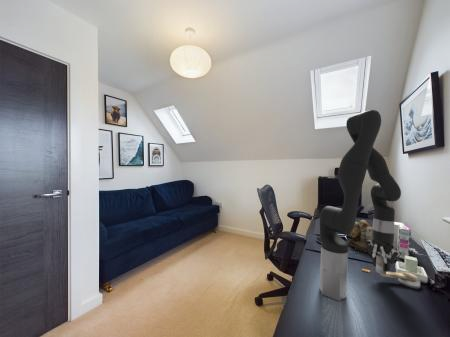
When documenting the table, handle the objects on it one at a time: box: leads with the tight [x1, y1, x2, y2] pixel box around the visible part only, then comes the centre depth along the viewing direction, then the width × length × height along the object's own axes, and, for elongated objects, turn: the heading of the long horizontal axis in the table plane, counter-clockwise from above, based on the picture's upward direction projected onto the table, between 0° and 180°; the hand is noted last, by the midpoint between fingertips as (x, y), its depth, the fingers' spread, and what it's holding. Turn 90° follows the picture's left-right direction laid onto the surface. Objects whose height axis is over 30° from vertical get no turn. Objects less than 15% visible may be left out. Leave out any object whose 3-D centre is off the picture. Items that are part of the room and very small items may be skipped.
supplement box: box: [393, 221, 406, 250], centre depth 125 cm, size 9×9×15 cm
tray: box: [394, 260, 429, 284], centre depth 92 cm, size 10×10×3 cm
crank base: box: [361, 268, 422, 289], centre depth 89 cm, size 20×7×2 cm, turn 53°
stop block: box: [403, 255, 419, 273], centre depth 92 cm, size 4×4×7 cm
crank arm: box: [375, 254, 417, 281], centre depth 86 cm, size 15×5×8 cm, turn 81°
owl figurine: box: [346, 219, 374, 253], centre depth 121 cm, size 18×12×17 cm, turn 34°
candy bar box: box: [396, 224, 412, 261], centre depth 112 cm, size 11×5×16 cm, turn 141°
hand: (380, 268), depth 87 cm, fingers closed on crank arm, 3 cm apart
